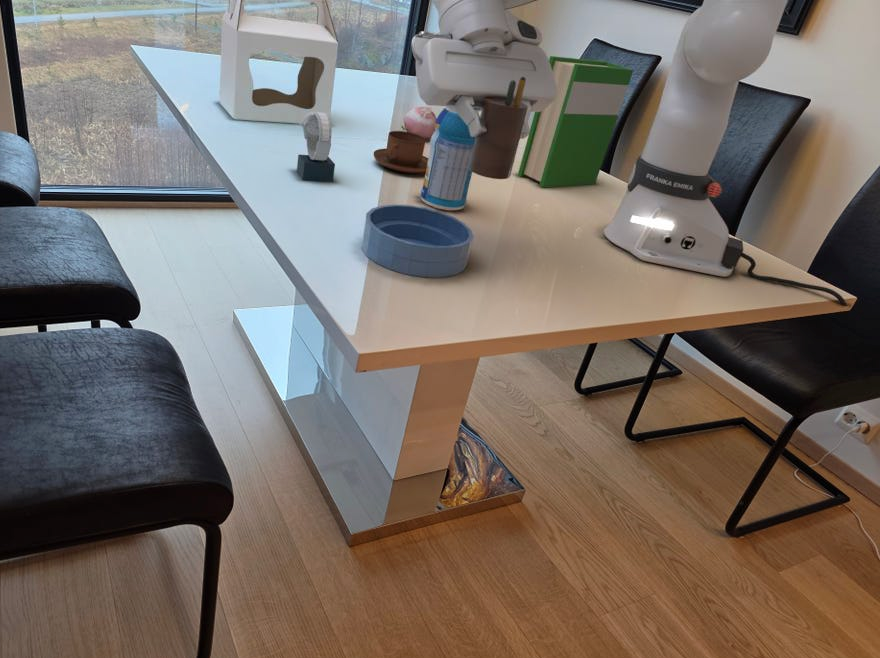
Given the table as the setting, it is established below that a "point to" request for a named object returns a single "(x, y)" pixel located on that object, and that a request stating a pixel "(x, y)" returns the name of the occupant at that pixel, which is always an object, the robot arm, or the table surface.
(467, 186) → the beverage bottle
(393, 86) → the table surface
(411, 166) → the cup and saucer
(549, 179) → the hardback book
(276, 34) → the gable box
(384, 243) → the bowl
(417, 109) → the onion
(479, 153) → the pot
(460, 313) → the table surface
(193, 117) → the table surface
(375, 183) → the table surface
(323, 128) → the watch
